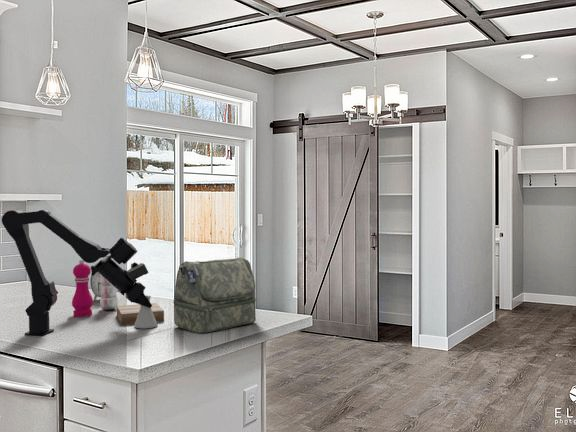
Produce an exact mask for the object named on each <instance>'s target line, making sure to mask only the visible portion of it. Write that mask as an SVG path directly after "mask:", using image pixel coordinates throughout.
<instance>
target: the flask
mask: <svg viewBox="0 0 576 432" xmlns="http://www.w3.org/2000/svg"><path fill="white" fill-rule="evenodd" d="M144 295H145V296H146V297H147V299H148V300H149V302H150V303H151V298H152V296H151V295H146V294H144ZM133 327H134V328H136V329H152V328H155V327H158V322H156V319H155V317H154V314H153V312H152V309H151V308H149V307H146V306H143V305H141V307H140V310H139V313H138V316H137V319H136V322H135V323H134V325H133Z"/></svg>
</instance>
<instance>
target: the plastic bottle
mask: <svg viewBox="0 0 576 432" xmlns="http://www.w3.org/2000/svg"><path fill="white" fill-rule="evenodd" d="M109 256H110V255H107V256H106V257H103V258H102V260H105V259H106V258H108V257H109ZM111 259H112V260H113V261H114V259H113V258H111ZM100 278H101V297H100V301H99V305H100V308H101V310H106V311H111V310H116V309H117V306H119V300H118V295H117V289H116V288H115V287H114V286H113V285H112V284H111V283H110V282H109V281H107V280H106V279H105V278H104V277H103V276H102V275H101V274H100Z"/></svg>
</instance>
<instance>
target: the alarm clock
mask: <svg viewBox="0 0 576 432" xmlns="http://www.w3.org/2000/svg"><path fill="white" fill-rule="evenodd" d="M96 264H97V263H96ZM96 264H95V263H94V265H93V266H95V265H96ZM89 282H90V288H91V291H92V293H93V295H94V298H93V300H96V299H97V298H101V278H100V274H99V273H98V272H97V273H96V274H95V275H94V276H91V275H90V278H89Z"/></svg>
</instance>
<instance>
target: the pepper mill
mask: <svg viewBox="0 0 576 432" xmlns="http://www.w3.org/2000/svg"><path fill="white" fill-rule="evenodd" d="M91 273H92V272H91V266H89V264H87V263H85V261H83V260H82V259H80V260H79V261H78V264H76V265H75V266H74V267H73V269H72V274H73V275H74V277H75V278H74V282H75V285H76V286H75V292H74V294H73V297H72V301H71V306H72V308H74V310H73V317H75V318H76V317H77V318H82V317H83V318H85V317H90V316H92V315H93V309H91V308H92V307H93V304H94V298H93V296H92V294H91V292H90V289H89V282H90V277H89V276H91Z"/></svg>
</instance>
